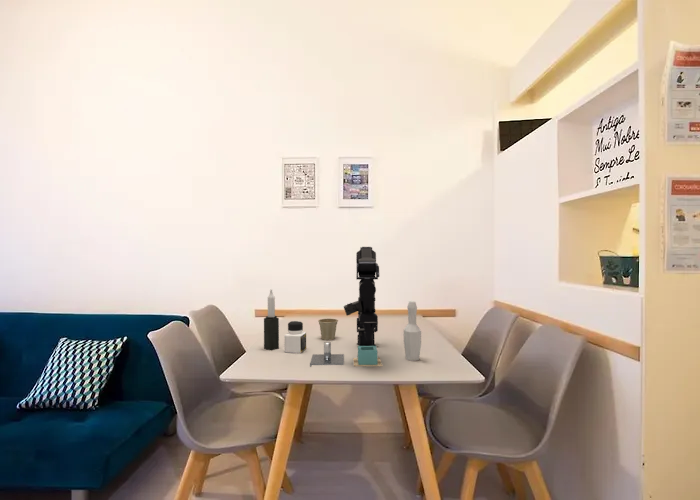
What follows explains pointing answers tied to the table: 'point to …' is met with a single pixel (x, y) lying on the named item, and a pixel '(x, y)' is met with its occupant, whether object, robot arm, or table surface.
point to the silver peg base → (327, 357)
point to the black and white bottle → (271, 326)
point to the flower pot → (328, 328)
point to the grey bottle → (412, 334)
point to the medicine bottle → (295, 338)
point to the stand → (366, 365)
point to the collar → (367, 355)
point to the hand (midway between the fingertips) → (367, 337)
